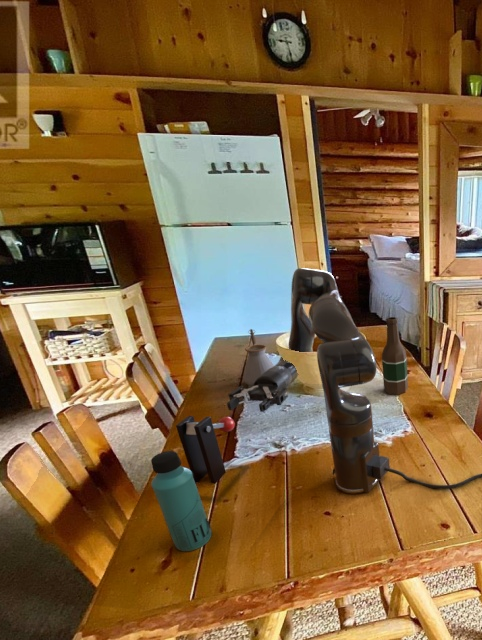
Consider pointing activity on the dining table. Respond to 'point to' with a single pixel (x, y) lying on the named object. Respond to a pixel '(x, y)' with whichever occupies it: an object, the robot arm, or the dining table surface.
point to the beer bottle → (394, 361)
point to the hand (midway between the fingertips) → (245, 407)
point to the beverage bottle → (180, 502)
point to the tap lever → (223, 424)
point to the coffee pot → (256, 361)
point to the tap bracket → (202, 449)
